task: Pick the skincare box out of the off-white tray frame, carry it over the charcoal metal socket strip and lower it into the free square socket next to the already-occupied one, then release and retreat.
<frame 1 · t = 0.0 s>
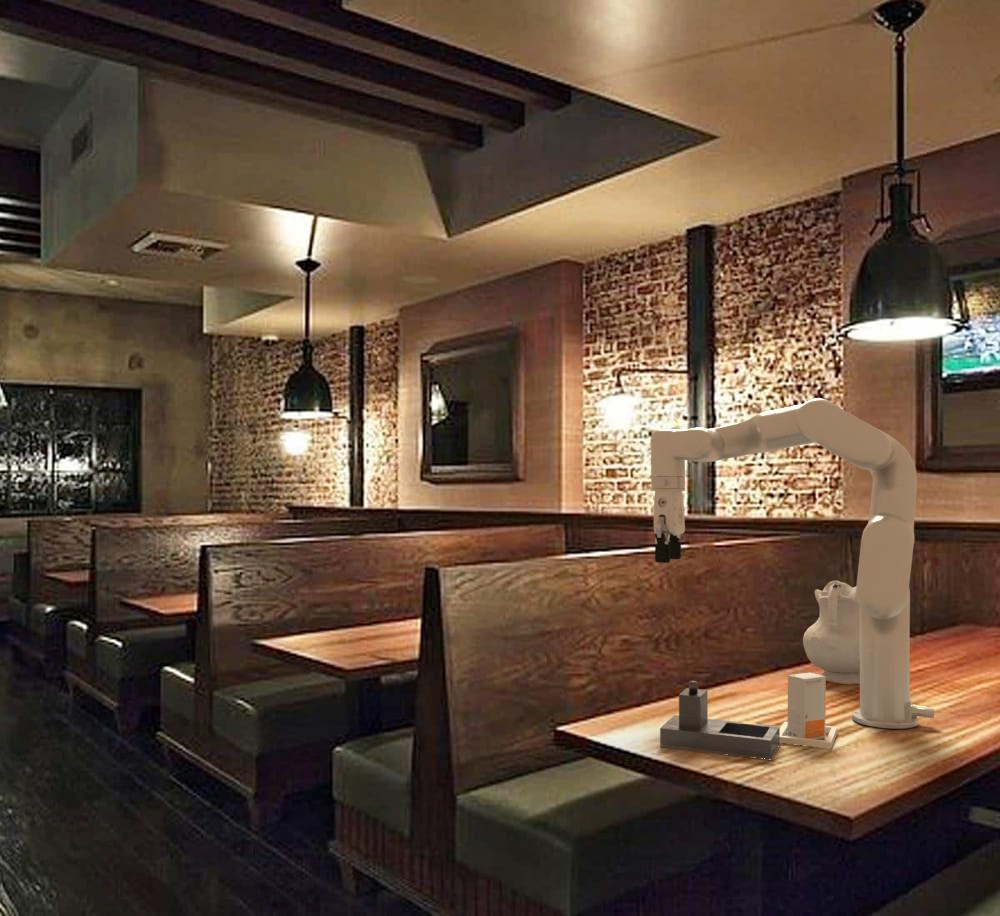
hand: (668, 560, 215), 31 cm above the table, fingers open, 9 cm apart
ceramic pitcher: (844, 681, 235), on the table
socket strip: (720, 746, 179), on the table
tray frame: (806, 737, 184), on the table
skincare box: (806, 738, 184), resting in tray frame
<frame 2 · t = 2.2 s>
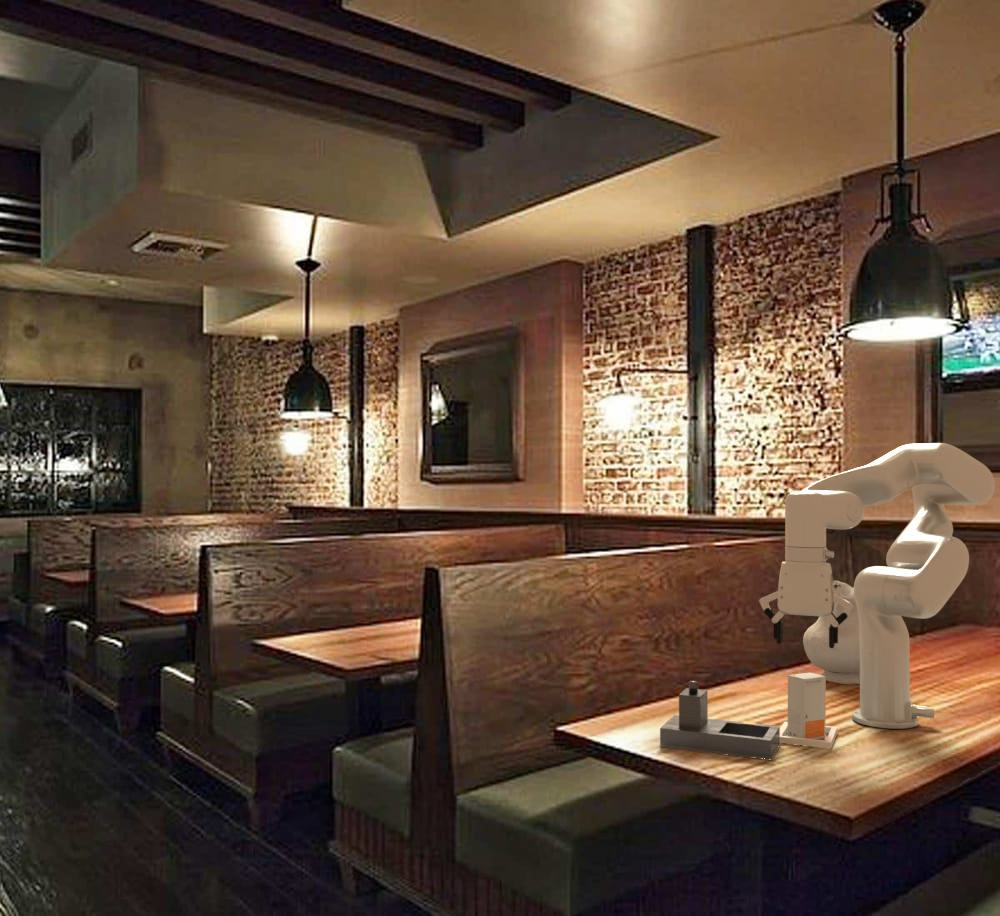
hand: (805, 645, 184), 18 cm above the table, fingers open, 9 cm apart
nothing on the table moved.
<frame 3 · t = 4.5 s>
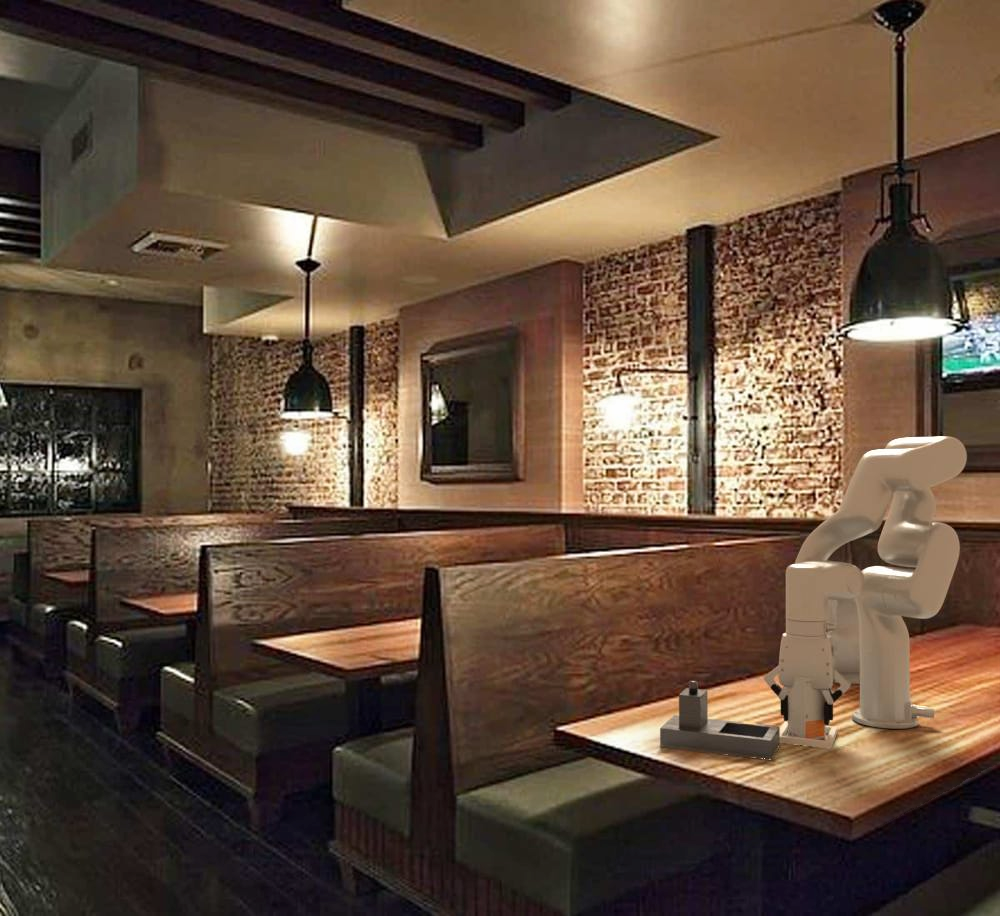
hand: (806, 720, 184), 3 cm above the table, fingers closed on skincare box, 6 cm apart
skincare box: (807, 738, 184), resting in tray frame, touching gripper
everything else where it was.
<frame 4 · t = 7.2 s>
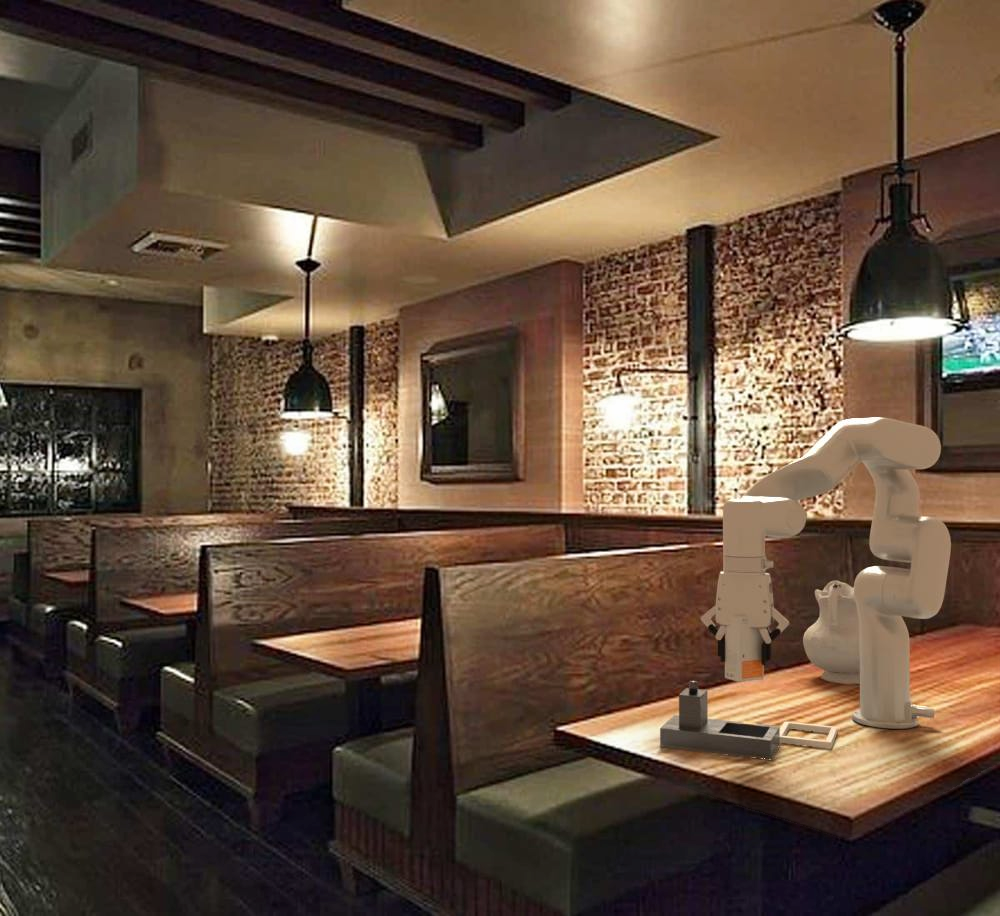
hand: (744, 661, 177), 16 cm above the table, fingers closed on skincare box, 6 cm apart
skincare box: (744, 680, 177), point 13 cm above the table, touching gripper
everything else where it was.
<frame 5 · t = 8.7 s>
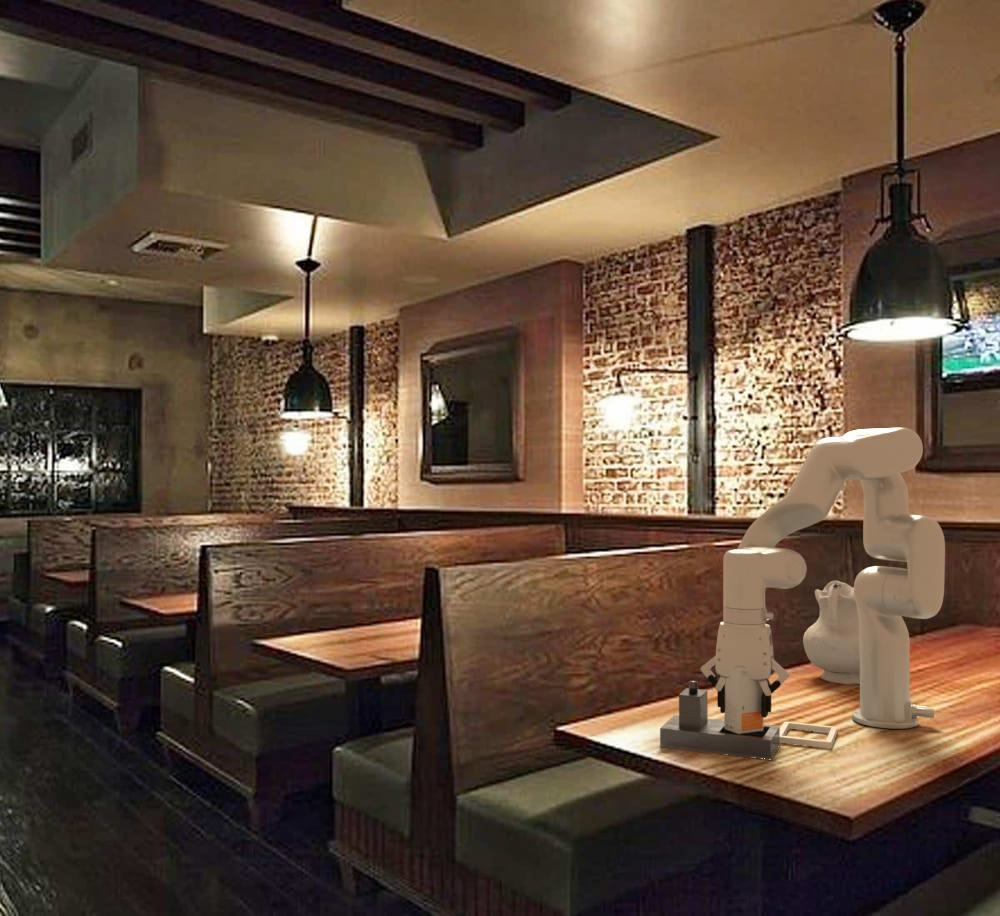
hand: (744, 713, 177), 7 cm above the table, fingers closed on skincare box, 6 cm apart
skincare box: (744, 731, 177), point 3 cm above the table, touching gripper
everything else where it was.
when the fingers open (5 cm above the table, at t = 10.1 s): skincare box stays where it is, resting on socket strip.
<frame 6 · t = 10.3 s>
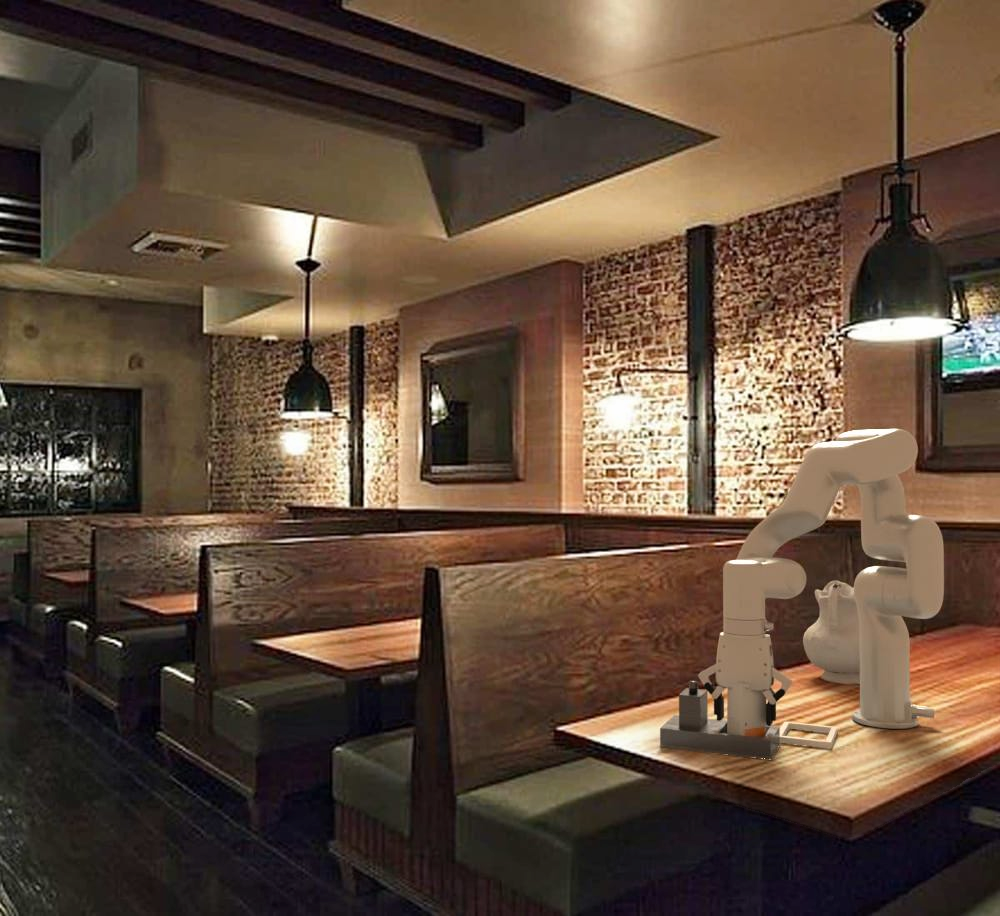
hand: (744, 721, 177), 5 cm above the table, fingers open, 8 cm apart
skincare box: (746, 747, 177), resting on socket strip
everything else where it was.
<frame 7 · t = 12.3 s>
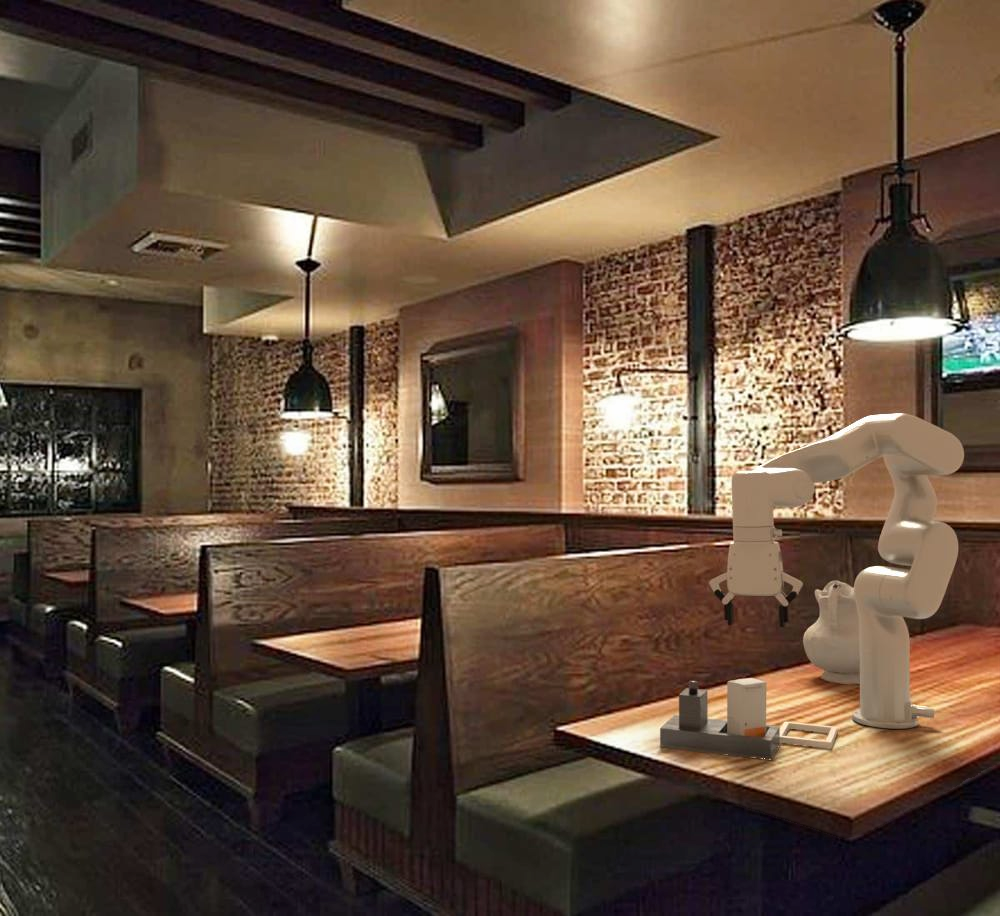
hand: (756, 625, 183), 22 cm above the table, fingers open, 9 cm apart
nothing on the table moved.
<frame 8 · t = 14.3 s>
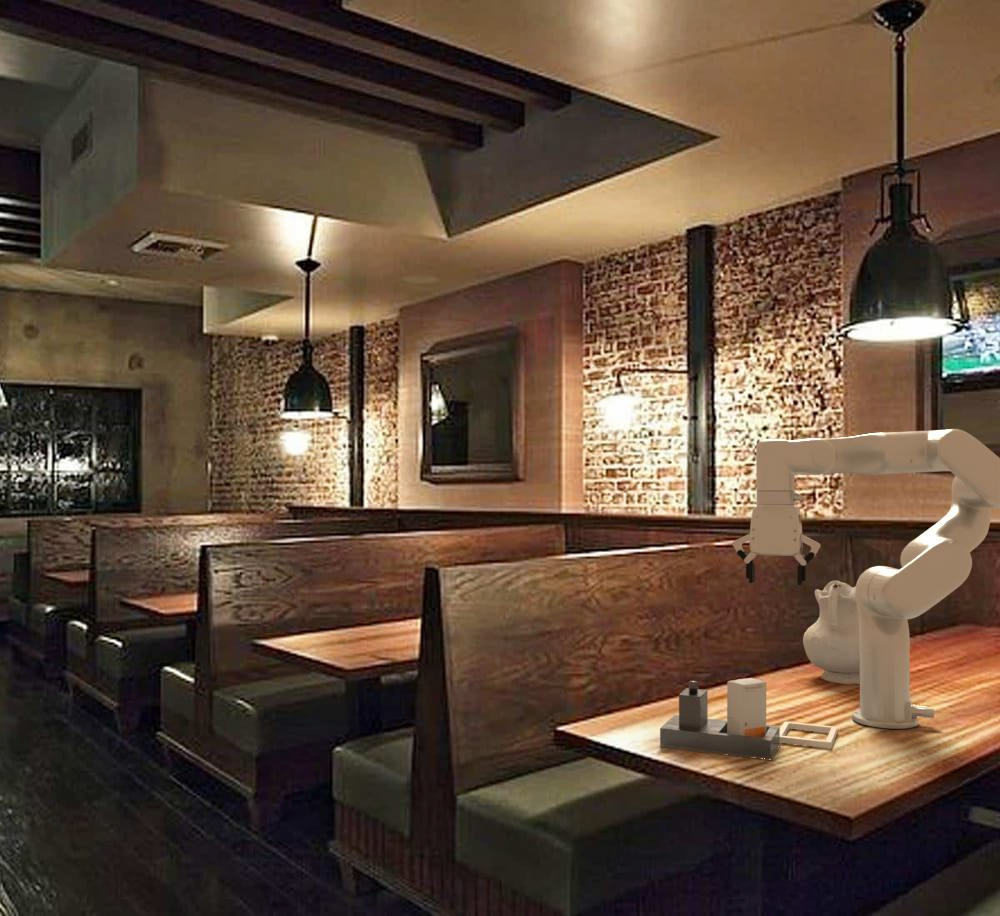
hand: (775, 583, 196), 28 cm above the table, fingers open, 9 cm apart
nothing on the table moved.
at the end: skincare box 0.4 cm from the target spot on the socket strip, point 0.3 cm above the socket strip's base; skincare box tilted 0°; the gripper is holding nothing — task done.
